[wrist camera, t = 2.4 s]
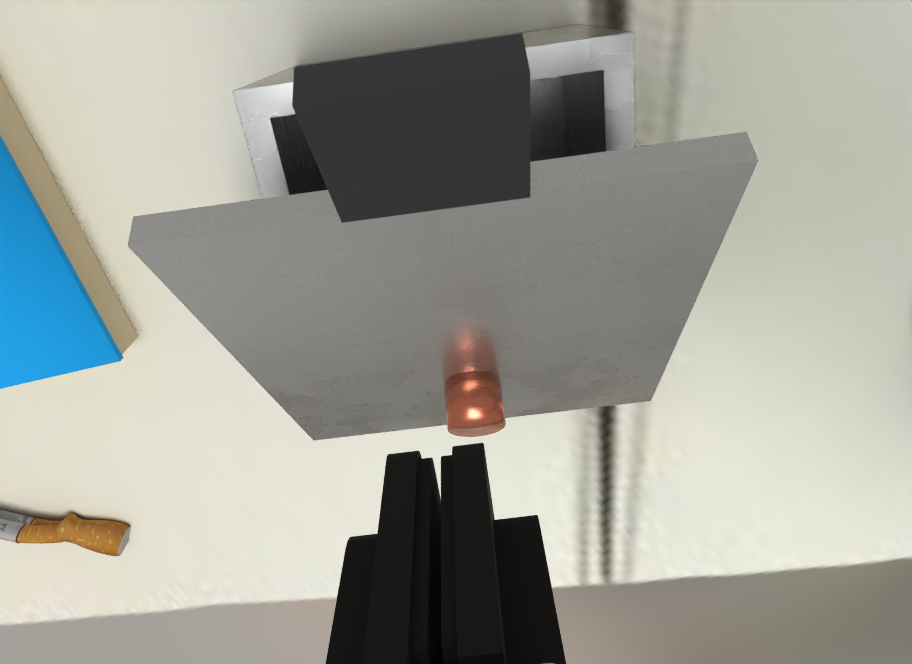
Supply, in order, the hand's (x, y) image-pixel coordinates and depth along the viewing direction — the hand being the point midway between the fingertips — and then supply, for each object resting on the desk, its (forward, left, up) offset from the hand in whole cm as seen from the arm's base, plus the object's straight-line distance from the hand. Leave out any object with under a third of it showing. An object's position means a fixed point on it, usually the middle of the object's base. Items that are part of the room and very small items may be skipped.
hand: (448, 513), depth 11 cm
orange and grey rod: (+39, +23, -31) cm, 55 cm away
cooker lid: (0, +1, -13) cm, 13 cm away
